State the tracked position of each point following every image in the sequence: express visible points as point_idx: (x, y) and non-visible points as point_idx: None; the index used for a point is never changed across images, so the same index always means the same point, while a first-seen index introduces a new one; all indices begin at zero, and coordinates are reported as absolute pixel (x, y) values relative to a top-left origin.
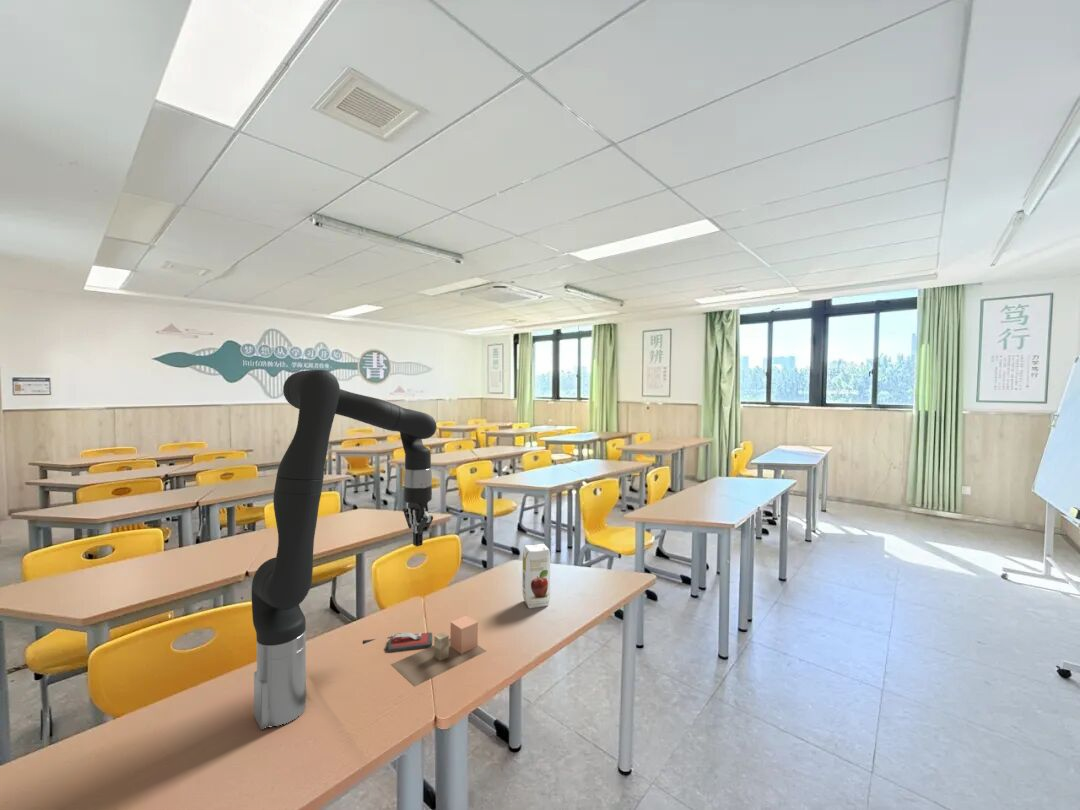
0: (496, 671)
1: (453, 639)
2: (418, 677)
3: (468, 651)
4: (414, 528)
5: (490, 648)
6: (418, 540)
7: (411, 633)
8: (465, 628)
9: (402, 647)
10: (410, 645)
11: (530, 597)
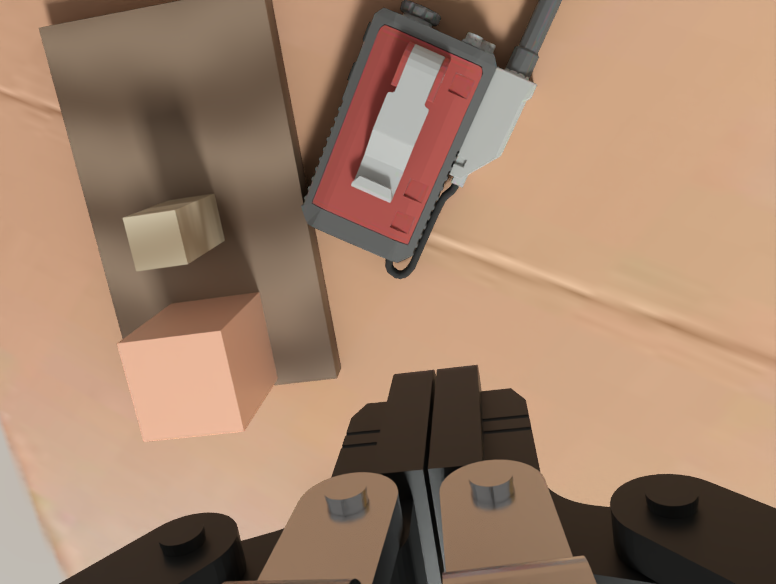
0: (38, 370)
1: (220, 308)
2: (91, 66)
3: None
4: (444, 540)
5: None
6: (346, 445)
7: (407, 153)
8: (125, 365)
9: (350, 79)
10: (341, 120)
11: None
